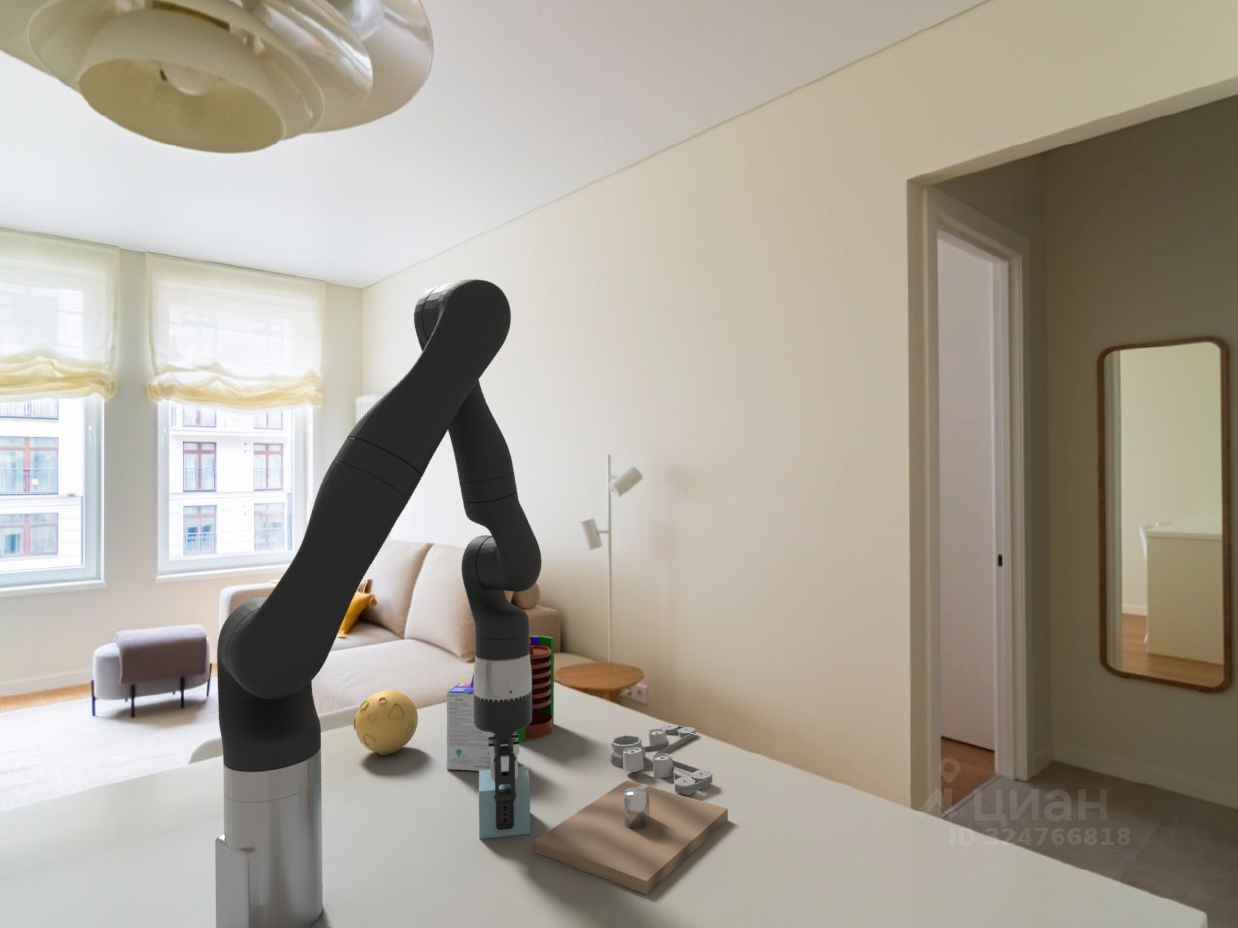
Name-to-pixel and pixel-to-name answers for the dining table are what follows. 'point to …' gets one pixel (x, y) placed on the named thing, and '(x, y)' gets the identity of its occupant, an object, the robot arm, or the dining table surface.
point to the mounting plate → (632, 837)
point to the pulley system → (659, 757)
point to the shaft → (636, 806)
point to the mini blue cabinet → (489, 806)
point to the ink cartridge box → (465, 732)
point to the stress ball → (386, 721)
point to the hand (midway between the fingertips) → (504, 814)
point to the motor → (540, 688)
